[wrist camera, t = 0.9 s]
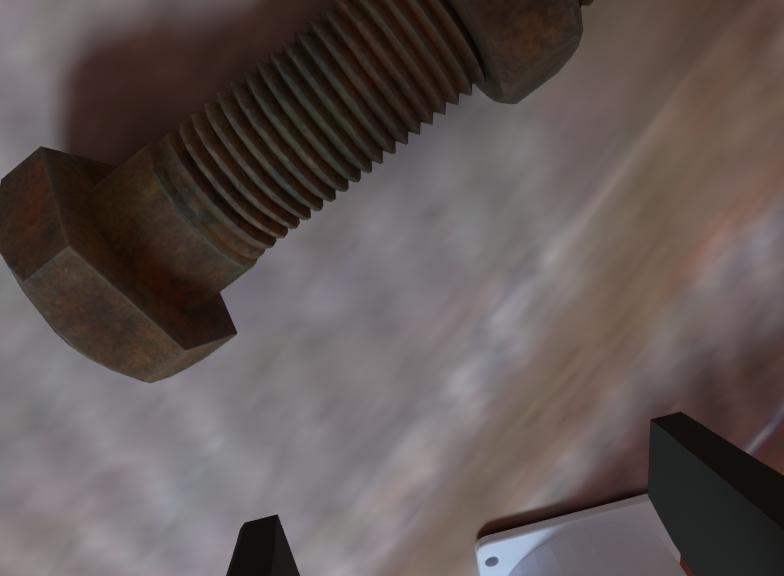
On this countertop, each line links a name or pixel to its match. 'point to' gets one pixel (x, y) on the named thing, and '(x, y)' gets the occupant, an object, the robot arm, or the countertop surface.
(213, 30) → the countertop surface
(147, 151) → the bolt
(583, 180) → the countertop surface
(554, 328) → the countertop surface
